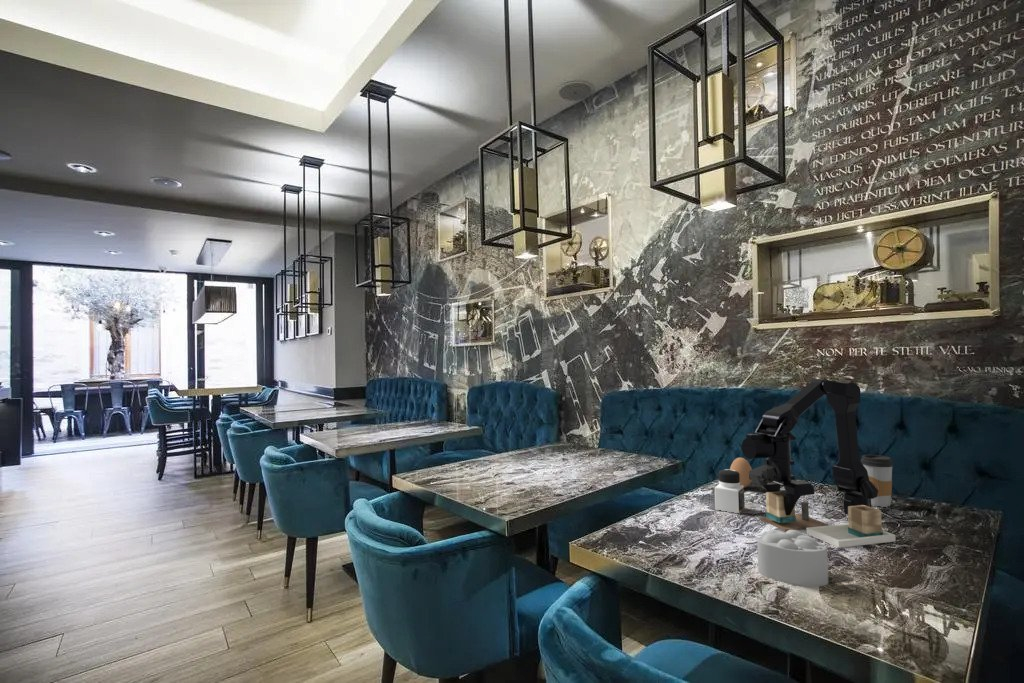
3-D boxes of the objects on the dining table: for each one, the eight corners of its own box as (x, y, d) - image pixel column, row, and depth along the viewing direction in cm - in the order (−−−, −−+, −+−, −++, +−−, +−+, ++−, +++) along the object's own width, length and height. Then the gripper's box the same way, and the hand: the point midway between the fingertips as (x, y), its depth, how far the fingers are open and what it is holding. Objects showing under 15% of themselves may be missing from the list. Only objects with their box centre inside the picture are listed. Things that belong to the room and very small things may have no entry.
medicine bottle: (739, 514, 149) (738, 474, 149) (714, 510, 153) (713, 471, 154) (744, 508, 155) (743, 469, 155) (721, 504, 159) (719, 467, 159)
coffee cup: (856, 503, 158) (854, 456, 158) (871, 499, 161) (869, 453, 162) (884, 510, 150) (882, 460, 151) (900, 506, 154) (898, 458, 154)
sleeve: (864, 531, 131) (863, 504, 132) (882, 538, 126) (881, 510, 126) (848, 532, 130) (847, 506, 131) (866, 539, 125) (864, 512, 125)
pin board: (801, 517, 145) (800, 496, 145) (829, 528, 135) (828, 506, 136) (759, 521, 142) (758, 500, 143) (785, 533, 133) (784, 510, 133)
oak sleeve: (782, 515, 141) (781, 490, 141) (795, 521, 136) (795, 495, 136) (766, 517, 140) (765, 492, 140) (779, 523, 135) (778, 497, 135)
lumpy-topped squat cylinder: (766, 559, 116) (765, 522, 116) (831, 574, 108) (830, 534, 108) (755, 575, 108) (753, 535, 108) (824, 592, 100) (823, 549, 100)
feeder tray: (860, 530, 134) (859, 522, 134) (895, 543, 124) (895, 535, 124) (806, 535, 130) (806, 527, 131) (838, 550, 121) (838, 541, 121)
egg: (736, 483, 183) (735, 454, 184) (757, 487, 178) (756, 457, 178) (726, 487, 178) (725, 457, 179) (747, 491, 173) (746, 460, 173)
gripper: (732, 451, 146) (734, 504, 146) (778, 465, 128) (780, 525, 127) (765, 449, 148) (766, 501, 148) (814, 462, 130) (817, 522, 130)
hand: (780, 512), depth 138 cm, fingers closed on oak sleeve, 5 cm apart
